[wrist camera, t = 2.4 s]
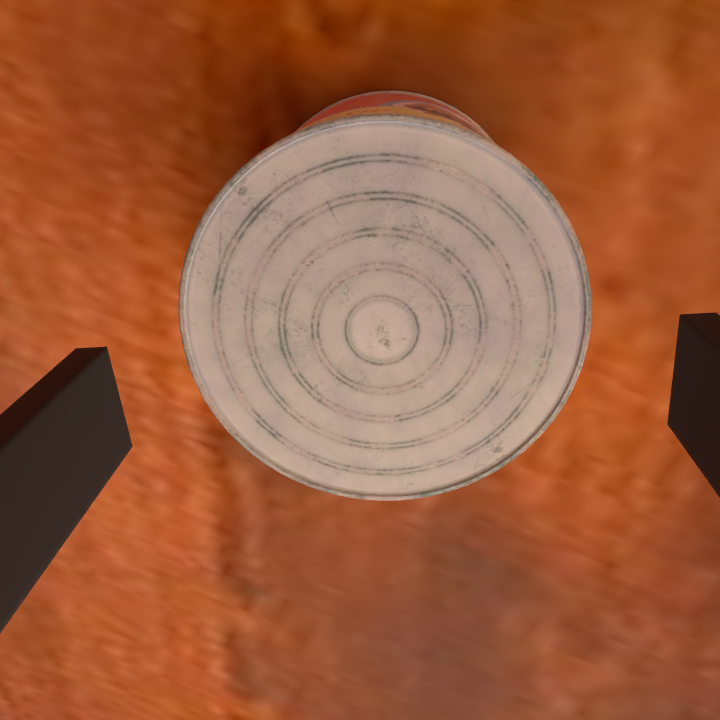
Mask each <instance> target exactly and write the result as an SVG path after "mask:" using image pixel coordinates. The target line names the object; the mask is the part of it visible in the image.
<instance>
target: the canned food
mask: <svg viewBox="0 0 720 720" xmlns="http://www.w3.org/2000/svg"><path fill="white" fill-rule="evenodd" d="M591 317H592V304H591V289H590V281H589V274H588V270H587V266H586V262H585V257H584V254H583V251H582V249H581V246H580V243H579V240H578V238H577V235H576V233H575V231H574V229H573V227H572V225H571V223H570V221H569V219H568V217H567V216H566V214H565V212H564V211H563V209H562V208H561V206H560V205H559V203H558V201H557V200H556V199H555V197H554V196H553V195H552V194H551V192H550V191H549V190H548V189H547V187H546V186H545V185H544V184H543V183H542V182H541V181H540V180H539V179H538V178H537V177H536V176H535V175H534V174H533V173H532V172H531V171H530V170H529V169H528V168H527V167H526V166H525V165H524V164H522V163H521V162H520V161H519V160H518V159H516V158H515V157H514V156H513V155H511V154H510V153H509V152H507V151H506V150H504V149H502V148H501V147H499V146H498V145H496V144H495V143H494V141H493V140H492V139H491V138H490V136H489V135H488V134H487V133H486V132H485V131H484V130H483V129H482V128H481V127H480V126H479V125H478V124H477V123H476V122H474V121H473V120H472V119H471V118H470V117H468V116H467V115H466V114H464V113H463V112H461V111H459V110H458V109H456V108H455V107H453V106H451V105H449V104H447V103H445V102H443V101H440V100H438V99H435V98H432V97H429V96H426V95H422V94H418V93H412V92H406V91H375V92H369V93H363V94H359V95H355V96H352V97H348V98H346V99H343V100H341V101H338V102H336V103H334V104H332V105H330V106H328V107H326V108H324V109H323V110H321V111H320V112H318V113H317V114H315V115H314V116H312V117H311V118H310V119H308V120H307V121H306V122H305V123H304V124H302V125H301V126H300V127H299V128H298V129H297V130H296V131H295V132H294V133H292V134H291V135H289V136H287V137H285V138H283V139H281V140H279V141H277V142H275V143H274V144H272V145H271V146H269V147H268V148H266V149H265V150H263V151H262V152H260V153H259V154H257V155H256V156H255V157H253V158H252V159H251V160H250V161H249V162H247V163H246V164H245V165H244V166H242V167H241V168H240V169H239V170H238V171H237V172H236V173H235V174H234V175H233V176H232V177H231V178H230V179H229V180H228V181H227V182H226V183H225V185H224V186H223V187H222V188H221V190H220V191H219V192H218V193H217V195H216V196H215V197H214V198H213V200H212V201H211V203H210V205H209V206H208V208H207V209H206V211H205V212H204V214H203V216H202V217H201V219H200V221H199V224H198V226H197V228H196V230H195V232H194V234H193V236H192V239H191V242H190V244H189V247H188V250H187V253H186V256H185V261H184V265H183V269H182V273H181V281H180V288H179V323H180V332H181V337H182V343H183V348H184V351H185V355H186V358H187V362H188V365H189V368H190V370H191V373H192V375H193V378H194V380H195V383H196V385H197V387H198V389H199V390H200V392H201V394H202V396H203V398H204V400H205V401H206V403H207V404H208V406H209V408H210V409H211V411H212V412H213V414H214V415H215V416H216V418H217V419H218V420H219V421H220V423H221V424H222V425H223V427H224V428H225V429H226V430H227V431H228V432H229V433H230V434H231V435H232V436H233V437H234V438H235V440H236V441H238V442H239V443H240V444H241V445H242V446H243V447H244V448H245V449H246V450H248V451H249V452H250V453H251V454H253V455H254V456H255V457H257V458H258V459H259V460H261V461H262V462H263V463H265V464H266V465H268V466H270V467H271V468H273V469H274V470H276V471H278V472H279V473H281V474H283V475H285V476H287V477H289V478H291V479H293V480H295V481H297V482H300V483H302V484H305V485H307V486H309V487H312V488H315V489H318V490H321V491H324V492H328V493H332V494H336V495H340V496H345V497H351V498H358V499H367V500H406V499H416V498H422V497H427V496H433V495H437V494H441V493H445V492H448V491H452V490H455V489H457V488H460V487H463V486H466V485H469V484H471V483H473V482H475V481H477V480H480V479H482V478H484V477H486V476H488V475H489V474H491V473H493V472H495V471H496V470H498V469H500V468H502V467H503V466H504V465H506V464H507V463H509V462H510V461H512V460H513V459H515V458H516V457H517V456H518V455H520V454H521V453H522V452H523V451H524V450H526V449H527V448H528V447H529V446H530V445H531V444H532V443H533V442H534V441H535V440H536V439H537V438H538V437H539V436H540V435H541V434H542V433H543V432H544V431H545V430H546V429H547V427H548V426H549V425H550V424H551V423H552V421H553V420H554V419H555V417H556V416H557V414H558V413H559V412H560V410H561V409H562V407H563V406H564V404H565V402H566V401H567V399H568V397H569V395H570V393H571V391H572V390H573V388H574V385H575V383H576V381H577V378H578V376H579V374H580V371H581V368H582V365H583V362H584V358H585V355H586V352H587V347H588V341H589V336H590V328H591Z"/></svg>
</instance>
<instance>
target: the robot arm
mask: <svg viewBox="0 0 720 720" xmlns="http://www.w3.org/2000/svg"><path fill="white" fill-rule="evenodd" d="M668 426H669V427H670V428H671V430H672V431H673V433H674V434H675V435H676V437H677V438H678V440H679V441H680V442H681V444H682V445H683V447H684V448H685V449H686V451H687V452H688V454H689V455H690V456H691V458H692V459H693V461H694V462H695V463H696V465H697V466H698V468H699V469H700V470H701V472H702V473H703V475H704V476H705V477H706V479H707V480H708V482H709V483H710V484H711V486H712V487H713V489H714V490H715V491H716V493H717V494H718V496H719V497H720V315H719V314H717V313H700V314H682V315H680V318H679V327H678V336H677V345H676V354H675V362H674V371H673V380H672V389H671V398H670V407H669V415H668ZM131 448H132V443H131V439H130V435H129V431H128V427H127V423H126V420H125V416H124V412H123V408H122V404H121V400H120V396H119V392H118V388H117V385H116V381H115V377H114V373H113V369H112V365H111V361H110V357H109V353H108V350H107V347H94V348H76V349H75V350H74V351H73V352H71V353H70V354H69V355H68V356H67V357H66V358H65V359H63V360H62V361H61V362H60V363H59V364H58V365H57V366H55V367H54V368H53V369H52V370H51V371H50V372H49V373H47V374H46V375H45V376H44V377H43V378H42V379H41V380H39V381H38V382H37V383H36V384H35V385H34V386H33V387H31V388H30V389H29V390H28V391H27V392H26V393H25V394H23V395H22V396H21V397H20V398H19V399H18V400H17V401H15V402H14V403H13V404H12V405H11V406H10V407H9V408H8V409H6V410H5V411H4V412H3V413H2V414H1V415H0V633H1V631H2V630H3V629H4V627H5V626H6V624H7V623H8V622H9V620H10V619H11V617H12V616H13V614H14V613H15V612H16V610H17V609H18V607H19V606H20V605H21V603H22V602H23V600H24V599H25V598H26V596H27V595H28V593H29V592H30V590H31V589H32V588H33V586H34V585H35V583H36V582H37V581H38V579H39V578H40V576H41V575H42V574H43V572H44V571H45V569H46V568H47V566H48V565H49V564H50V562H51V561H52V559H53V558H54V557H55V555H56V554H57V552H58V551H59V549H60V548H61V547H62V545H63V544H64V542H65V541H66V540H67V538H68V537H69V535H70V534H71V533H72V531H73V530H74V528H75V527H76V525H77V524H78V523H79V521H80V520H81V518H82V517H83V516H84V514H85V513H86V511H87V510H88V509H89V507H90V506H91V504H92V503H93V501H94V500H95V499H96V497H97V496H98V494H99V493H100V492H101V490H102V489H103V487H104V486H105V485H106V483H107V482H108V480H109V479H110V477H111V476H112V475H113V473H114V472H115V470H116V469H117V468H118V466H119V465H120V463H121V462H122V460H123V459H124V458H125V456H126V455H127V453H128V452H129V451H130V449H131Z"/></svg>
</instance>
